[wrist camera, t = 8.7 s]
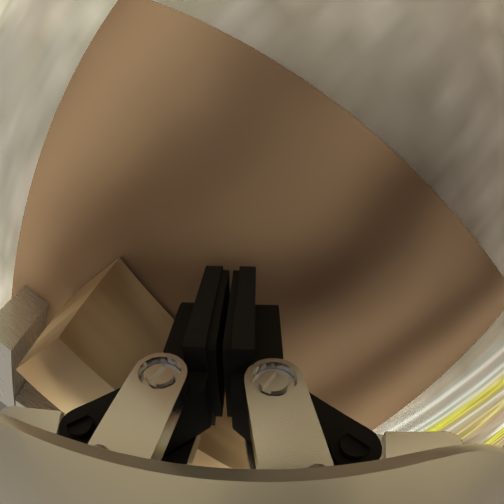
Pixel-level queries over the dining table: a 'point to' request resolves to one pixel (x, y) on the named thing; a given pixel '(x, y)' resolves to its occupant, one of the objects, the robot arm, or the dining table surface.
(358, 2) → the dining table surface
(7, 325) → the stop bracket
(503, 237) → the dining table surface
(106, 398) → the robot arm
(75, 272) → the board
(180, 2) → the dining table surface
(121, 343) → the leg bar
